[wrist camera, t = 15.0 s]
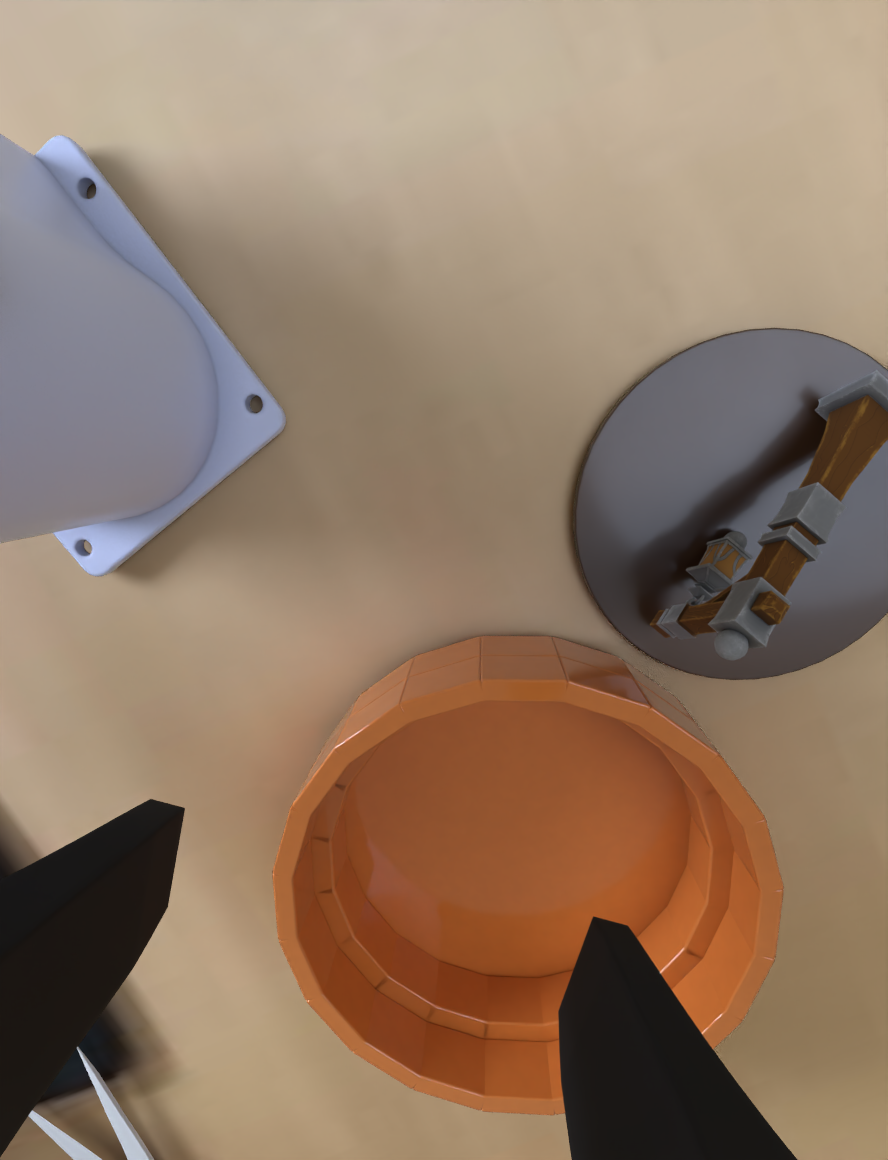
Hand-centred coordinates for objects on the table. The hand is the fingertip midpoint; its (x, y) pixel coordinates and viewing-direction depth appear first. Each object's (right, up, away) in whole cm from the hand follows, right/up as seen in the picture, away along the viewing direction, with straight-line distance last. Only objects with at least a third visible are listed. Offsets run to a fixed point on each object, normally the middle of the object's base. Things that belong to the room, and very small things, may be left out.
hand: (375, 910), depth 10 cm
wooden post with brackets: (+10, +7, +7) cm, 15 cm away
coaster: (+10, +8, +7) cm, 14 cm away
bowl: (+4, -3, +10) cm, 11 cm away
